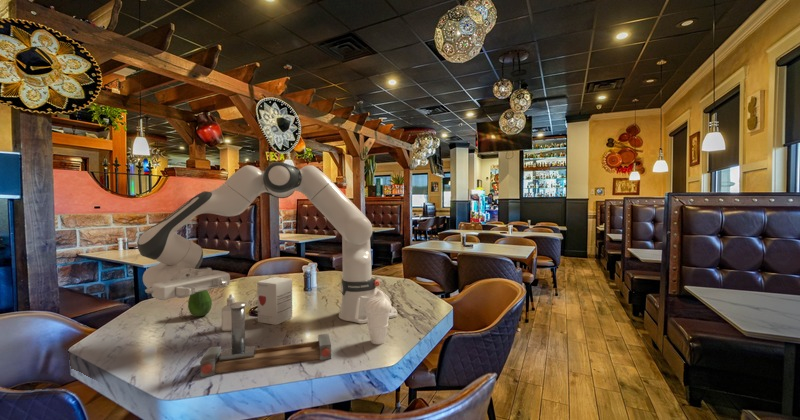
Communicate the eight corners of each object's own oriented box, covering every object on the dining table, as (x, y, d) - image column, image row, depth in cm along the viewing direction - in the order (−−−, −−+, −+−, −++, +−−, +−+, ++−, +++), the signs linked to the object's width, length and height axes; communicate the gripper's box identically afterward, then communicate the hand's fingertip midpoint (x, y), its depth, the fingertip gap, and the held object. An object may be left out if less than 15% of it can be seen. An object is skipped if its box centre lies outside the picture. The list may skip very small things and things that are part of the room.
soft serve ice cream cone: (370, 349, 97) (370, 295, 96) (360, 339, 104) (360, 289, 104) (396, 343, 100) (395, 292, 100) (384, 334, 108) (384, 286, 108)
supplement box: (256, 322, 120) (256, 281, 120) (274, 314, 128) (274, 276, 128) (276, 325, 117) (275, 283, 116) (293, 317, 125) (292, 278, 125)
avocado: (189, 315, 128) (188, 284, 128) (212, 311, 132) (211, 282, 132) (187, 321, 121) (186, 289, 121) (211, 317, 125) (211, 286, 125)
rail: (328, 346, 99) (328, 333, 99) (331, 359, 91) (331, 344, 91) (209, 362, 89) (208, 347, 89) (200, 378, 81) (199, 362, 81)
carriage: (255, 352, 91) (255, 300, 91) (253, 359, 87) (253, 304, 87) (223, 357, 89) (222, 303, 88) (220, 363, 85) (219, 307, 85)
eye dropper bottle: (234, 331, 111) (233, 296, 111) (219, 330, 112) (218, 295, 112) (242, 327, 115) (242, 293, 115) (228, 326, 116) (227, 292, 116)
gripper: (141, 278, 90) (169, 284, 84) (213, 266, 109) (241, 270, 102) (142, 301, 91) (169, 309, 84) (213, 285, 109) (241, 290, 102)
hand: (209, 287), depth 93 cm, fingers open, 8 cm apart
